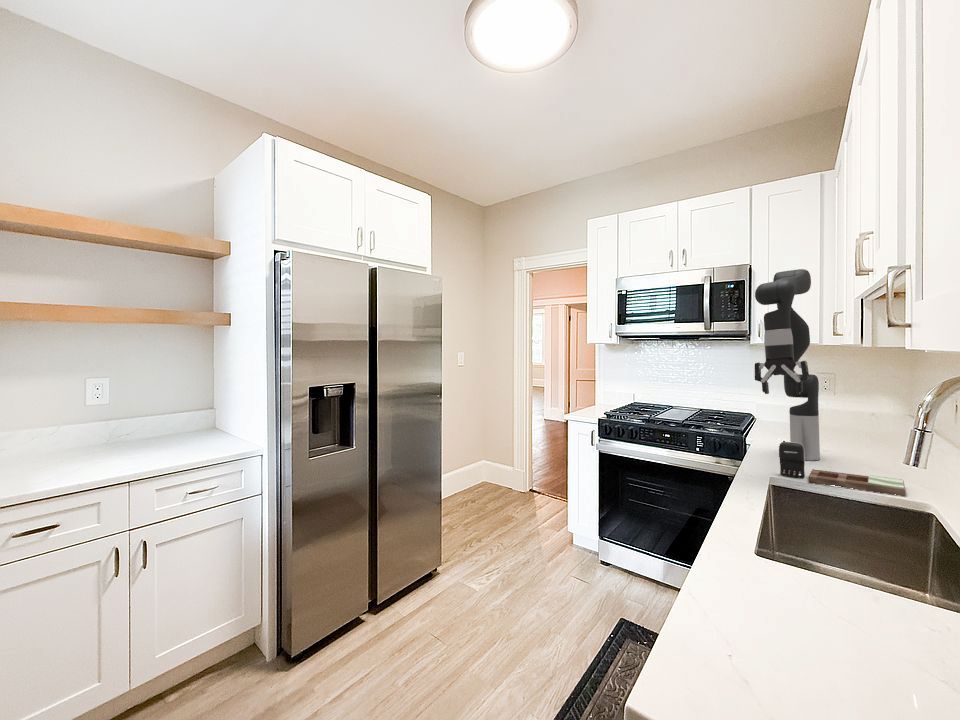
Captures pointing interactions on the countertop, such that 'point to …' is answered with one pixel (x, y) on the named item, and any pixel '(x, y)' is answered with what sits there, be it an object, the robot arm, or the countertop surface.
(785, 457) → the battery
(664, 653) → the countertop surface
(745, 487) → the countertop surface
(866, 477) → the board
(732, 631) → the countertop surface
